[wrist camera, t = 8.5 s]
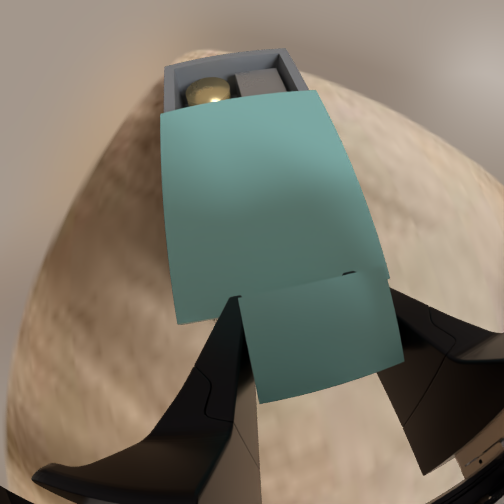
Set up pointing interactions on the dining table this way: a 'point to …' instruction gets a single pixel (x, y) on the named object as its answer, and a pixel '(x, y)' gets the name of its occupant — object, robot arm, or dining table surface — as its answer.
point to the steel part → (258, 82)
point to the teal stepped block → (277, 240)
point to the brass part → (207, 91)
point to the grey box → (227, 73)
